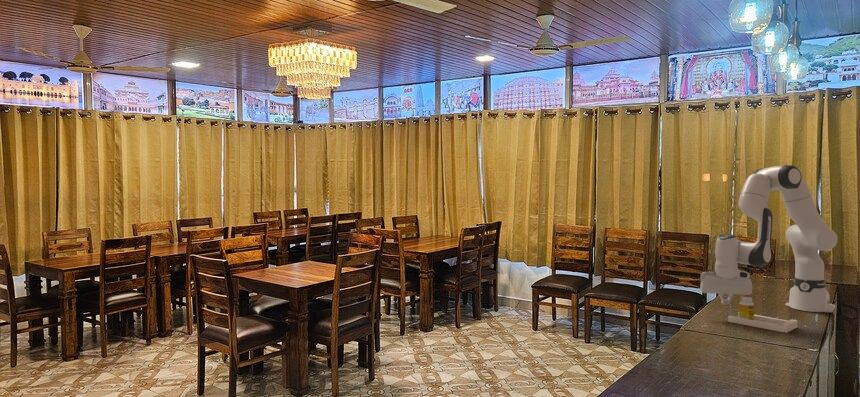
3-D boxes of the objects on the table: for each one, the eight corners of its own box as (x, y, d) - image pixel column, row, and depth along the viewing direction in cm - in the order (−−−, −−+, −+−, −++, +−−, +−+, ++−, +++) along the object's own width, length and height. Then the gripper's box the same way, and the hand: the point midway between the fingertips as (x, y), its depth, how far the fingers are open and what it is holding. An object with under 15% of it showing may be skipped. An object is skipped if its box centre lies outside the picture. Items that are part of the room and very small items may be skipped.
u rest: (739, 316, 245) (739, 310, 245) (797, 327, 228) (797, 320, 228) (727, 321, 237) (727, 314, 237) (786, 332, 220) (786, 325, 220)
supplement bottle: (749, 324, 233) (750, 299, 233) (736, 321, 238) (736, 297, 238) (756, 322, 236) (757, 298, 236) (743, 319, 241) (743, 295, 241)
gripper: (702, 272, 242) (701, 304, 243) (754, 274, 238) (753, 306, 239) (698, 270, 248) (697, 301, 249) (748, 271, 244) (748, 303, 245)
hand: (725, 303), depth 244 cm, fingers closed
